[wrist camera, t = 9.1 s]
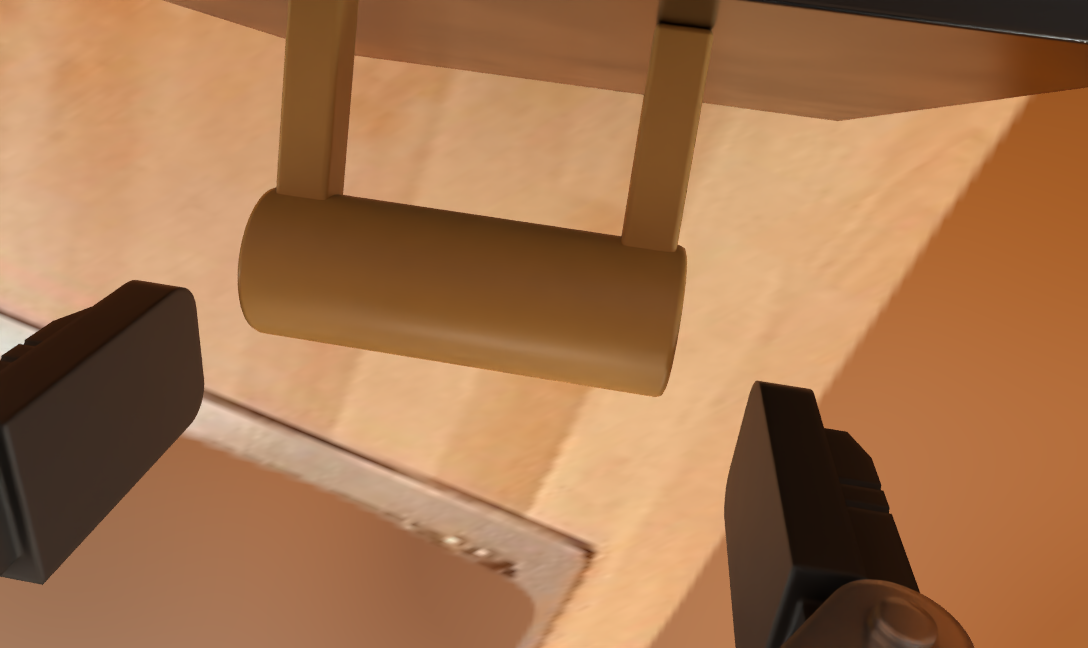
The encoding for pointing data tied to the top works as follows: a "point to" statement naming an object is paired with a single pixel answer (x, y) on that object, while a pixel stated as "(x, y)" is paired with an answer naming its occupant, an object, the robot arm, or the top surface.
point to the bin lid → (657, 175)
